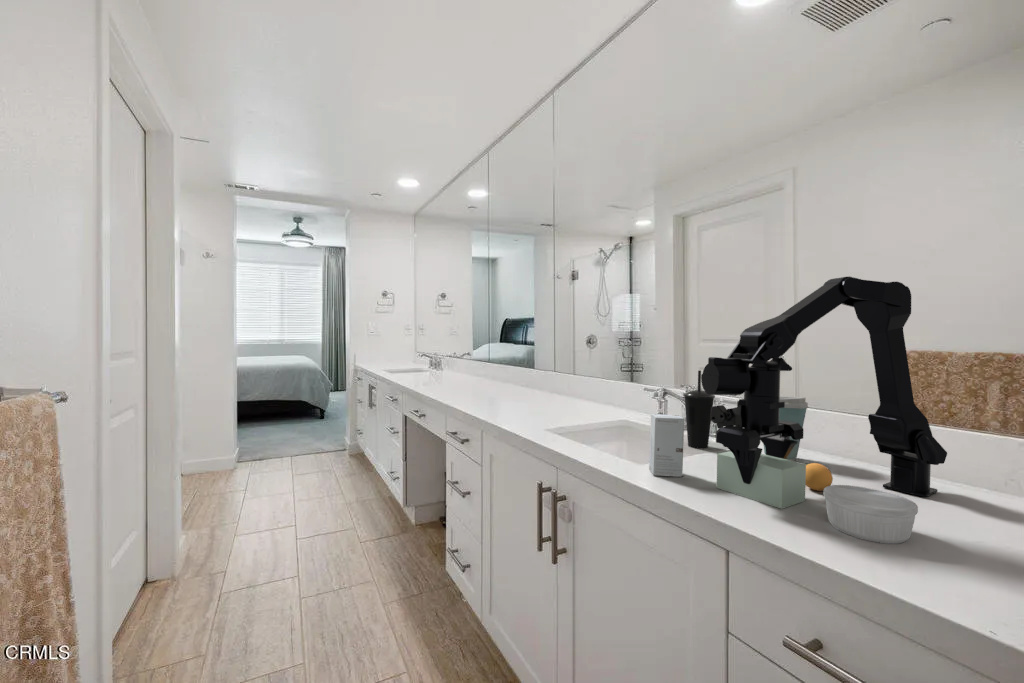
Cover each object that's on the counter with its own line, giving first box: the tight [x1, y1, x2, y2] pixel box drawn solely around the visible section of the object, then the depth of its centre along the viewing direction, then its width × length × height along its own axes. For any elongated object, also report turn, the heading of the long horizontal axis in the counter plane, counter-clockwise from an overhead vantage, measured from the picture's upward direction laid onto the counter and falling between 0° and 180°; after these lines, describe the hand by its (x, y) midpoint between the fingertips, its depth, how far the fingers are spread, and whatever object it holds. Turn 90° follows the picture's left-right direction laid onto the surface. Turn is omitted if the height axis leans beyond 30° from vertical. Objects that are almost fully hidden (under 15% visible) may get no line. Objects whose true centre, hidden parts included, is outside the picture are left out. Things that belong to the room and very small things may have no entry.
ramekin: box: [823, 484, 919, 544], centre depth 68 cm, size 11×11×5 cm
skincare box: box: [648, 413, 685, 478], centre depth 95 cm, size 6×4×12 cm
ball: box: [805, 462, 834, 492], centre depth 86 cm, size 5×5×5 cm
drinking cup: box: [683, 370, 716, 450], centre depth 119 cm, size 8×8×20 cm
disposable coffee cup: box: [762, 396, 809, 462], centre depth 109 cm, size 11×11×15 cm
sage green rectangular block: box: [716, 450, 807, 509], centre depth 83 cm, size 8×12×6 cm, turn 32°
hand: (759, 480), depth 83 cm, fingers closed on sage green rectangular block, 8 cm apart
